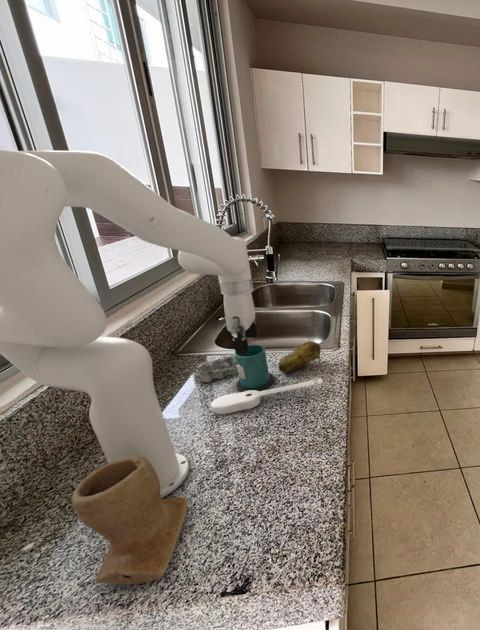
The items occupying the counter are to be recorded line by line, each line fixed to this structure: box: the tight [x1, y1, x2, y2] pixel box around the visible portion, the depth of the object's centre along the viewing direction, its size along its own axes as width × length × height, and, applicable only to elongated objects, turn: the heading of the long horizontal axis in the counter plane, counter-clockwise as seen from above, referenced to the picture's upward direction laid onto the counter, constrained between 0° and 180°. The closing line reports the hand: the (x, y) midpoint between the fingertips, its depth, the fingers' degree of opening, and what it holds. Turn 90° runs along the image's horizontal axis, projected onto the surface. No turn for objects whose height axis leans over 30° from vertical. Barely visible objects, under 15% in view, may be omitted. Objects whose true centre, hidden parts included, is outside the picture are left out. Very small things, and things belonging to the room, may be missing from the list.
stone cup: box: [71, 456, 189, 586], centre depth 54 cm, size 15×12×15 cm
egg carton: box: [196, 354, 238, 383], centre depth 104 cm, size 11×8×4 cm
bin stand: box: [236, 372, 275, 393], centre depth 101 cm, size 10×10×1 cm
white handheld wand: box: [210, 377, 324, 415], centre depth 93 cm, size 28×6×3 cm, turn 114°
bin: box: [234, 344, 270, 388], centre depth 99 cm, size 8×8×10 cm
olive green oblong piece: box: [278, 341, 322, 373], centre depth 108 cm, size 8×13×8 cm, turn 109°
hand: (247, 344), depth 95 cm, fingers open, 9 cm apart
